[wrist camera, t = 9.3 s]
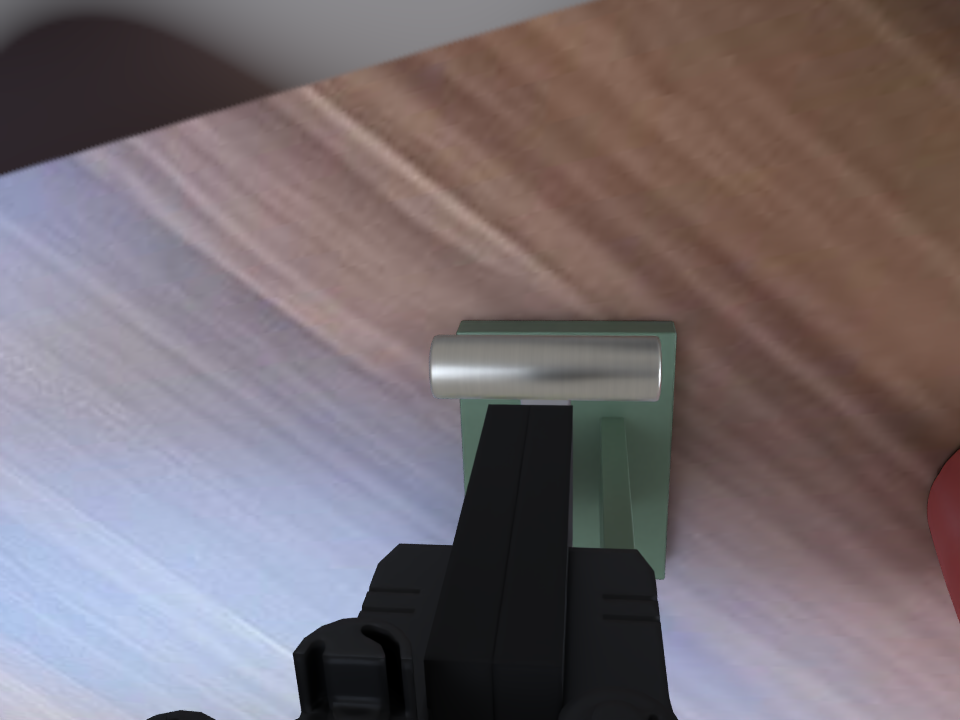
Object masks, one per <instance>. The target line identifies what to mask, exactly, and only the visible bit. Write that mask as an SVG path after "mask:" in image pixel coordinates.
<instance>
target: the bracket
mask: <svg viewBox="0 0 960 720" xmlns="http://www.w3.org/2000/svg"><path fill="white" fill-rule="evenodd" d="M456 335H593V336H657V337H659V339H660V342H661V352H662V381H661V393H660V397H659V400H658V401H655V402H648V401H577V400H571V405H573V547H584V548H613V549H638V551H639V552H640V553H641V554H642V556H643V557H644V558H645V560H646V561H647V562H648V564H649V565H650V566H651V567H652V569H653V570H654V571H655V579H659V580H663V579H664V578H665V562H666V542H667V521H668V501H669V481H670V461H671V441H672V421H673V401H674V380H675V360H676V340H677V333H676V329H675V326H674V322H672V321H461V323H460V325H459V328H458V330H457V333H456ZM488 404H509V405H521V401H520V400H506V399H460V413H461V432H462V451H463V470H464V489H465V495H466V491H467V487H468V483H469V479H470V475H471V471H472V467H473V463H474V459H475V455H476V451H477V448H478V444H479V440H480V436H481V432H482V428H483V424H484V420H485V416H486V412H487V408H488Z"/></svg>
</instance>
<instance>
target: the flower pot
mask: <svg viewBox="0 0 960 720" xmlns="http://www.w3.org/2000/svg"><path fill="white" fill-rule="evenodd" d="M927 517H928V524H929V528H930V532H931V535H932V538H933V542H934V546H935V549H936V553H937V556H938V559H939V563H940V566H941V569H942V572H943V576H944V579H945V582H946V585H947V588H948V591H949V594H950V597H951V600H952V602H953V605H954V608H955V611H956V614H957V617H958V619H959V622H960V449H959V450H958V451H957V452H956V453H955V454H954V455H953V456H952V457H951V458H950V459H949V460H948V461H947V462H946V464H945V465H944V466H943V468H942V469H941V471H940V473H939V475H938V476H937V478H936V479H935V481H934V482H933V485H932V487H931V490H930V494H929V498H928V505H927Z"/></svg>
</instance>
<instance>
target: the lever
mask: <svg viewBox="0 0 960 720" xmlns="http://www.w3.org/2000/svg"><path fill="white" fill-rule="evenodd" d="M429 380H430V387H431V391H432V394H433V396H434V397H435V398H437V399H506V400H520V401H521V405H571V400H577V401H648V402H655V401H658V400H659V397H660V393H661V381H662V352H661V342H660V339H659V337H657V336H593V335H437V336H434V338H433V341H432V343H431V348H430V356H429ZM572 547H573V546H572Z"/></svg>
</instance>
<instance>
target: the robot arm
mask: <svg viewBox="0 0 960 720" xmlns="http://www.w3.org/2000/svg"><path fill="white" fill-rule="evenodd" d="M572 546H573V405H509V404H488V408H487V412H486V416H485V420H484V424H483V428H482V432H481V436H480V440H479V444H478V448H477V451H476V455H475V459H474V463H473V467H472V471H471V475H470V479H469V483H468V487H467V491H466V495H465V499H464V503H463V507H462V510H461V514H460V518H459V522H458V526H457V530H456V534H455V538H454V542H453V545H427V544H399V545H397V546H396V547H395V548H394V549H393V550H392V551H391V552H390V553H389V554H388V555H387V556H386V557H385V558H384V559H382V560H381V561H380V562H379V563H378V565H377V568H376V571H375V573H374V576H373V579H372V581H371V584H370V586H369V592H367V594H366V597H365V600H364V602H363V605H362V611H360V613H359V615H358V618H346V619H341V620H338V621H335V622H332V623H330V624H327V625H324V626H321V627H320V628H318V629H317V630H315V631H314V632H313V633H311V634H310V635H308V636H307V637H305V638H304V639H303V640H302V642H301V643H300V644H299V646H298V647H297V648H296V650H295V651H294V652H293V658H294V665H295V672H296V679H297V685H298V692H299V699H300V705H301V715H300V717H299V718H298V719H296V720H678V719H677V717H676V716H675V714H674V712H673V710H672V706H671V703H670V699H669V692H668V683H667V674H666V666H665V657H664V649H663V640H662V631H661V623H660V614H659V605H658V601H657V588H656V580H655V571H654V570H653V569H652V567H651V566H650V565H649V564H648V562H647V561H646V560H645V558H644V557H643V556H642V554H641V553H640V552H639V551H638V549H613V548H584V547H572ZM147 720H215V719H213V718H211V717H210V716H208V715H206V714H204V713H202V712H194V711H183V710H179V711H174V712H169V713H164V714H158V715H155V716H153V717H151V718H149V719H147Z"/></svg>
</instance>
